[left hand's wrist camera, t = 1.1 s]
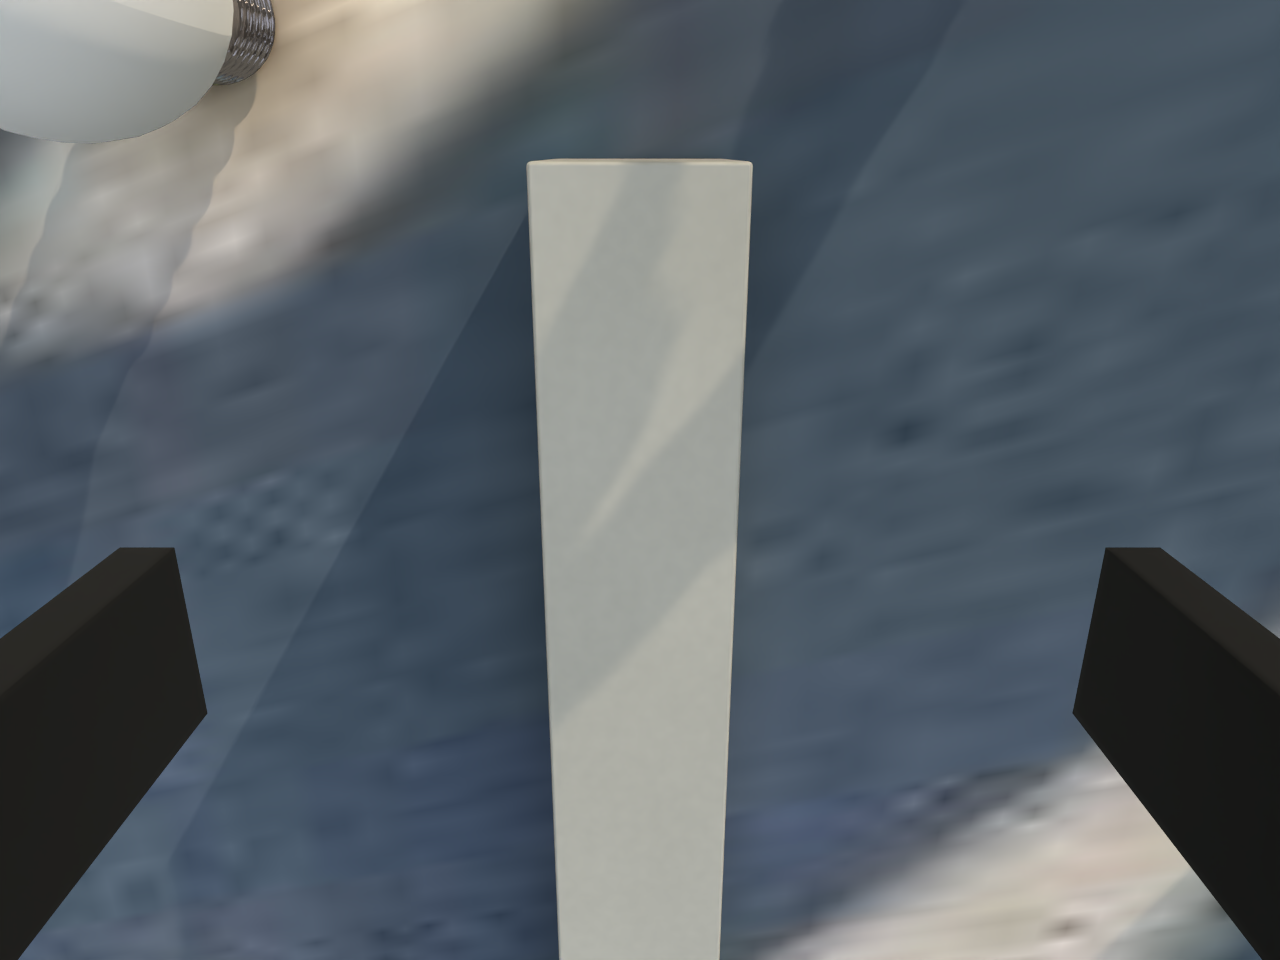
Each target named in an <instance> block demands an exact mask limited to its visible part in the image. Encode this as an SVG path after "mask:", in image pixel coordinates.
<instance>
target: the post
mask: <svg viewBox="0 0 1280 960" xmlns="http://www.w3.org/2000/svg"><path fill="white" fill-rule="evenodd" d="M752 173H753V165H752V163H751V162H748V161H738V160H728V159H551V160H540V161H530V162H528V163H527V190H528V214H529V238H530V263H531V287H532V311H533V335H534V360H535V384H536V408H537V432H538V457H539V481H540V505H541V529H542V554H543V578H544V602H545V626H546V651H547V675H548V699H549V723H550V748H551V772H552V796H553V820H554V845H555V869H556V893H557V917H558V942H559V960H719V954H720V930H721V907H722V883H723V859H724V836H725V812H726V788H727V765H728V741H729V717H730V694H731V670H732V646H733V623H734V599H735V575H736V551H737V528H738V504H739V480H740V457H741V433H742V409H743V386H744V362H745V338H746V315H747V291H748V267H749V244H750V220H751V196H752Z"/></svg>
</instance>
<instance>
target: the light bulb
mask: <svg viewBox="0 0 1280 960" xmlns="http://www.w3.org/2000/svg"><path fill="white" fill-rule="evenodd" d="M274 35H275V18H274V13H273V8H272V4H271V1H270V0H0V129H3V130H5V131H9V132H13V133H17V134H21V135H25V136H29V137H33V138H37V139H43V140H50V141H57V142H68V143H89V144H93V143H101V142H108V141H115V140H121V139H127V138H133V137H139V136H141V135H144V134H146V133H148V132H151V131H153V130H156V129H158V128H160V127H163V126H165V125H167V124H168V123H170V122H172V121H174V120H176V119H177V118H178V117H180V116H181V115H182V114H184V113H185V112H187V111H188V110H189V109H191V108H192V107H193V106H195V105H196V104H197V103H198V102H199V100H200V99H201V98H202V97H203V96H204V94H205V93H206V92H207V91H208V90H209V89H210V87H211V86H212V85H227V84H232V83H235V82H239V81H242V80H244V79H246V78H248V77H249V76H251V75H252V74H254V73H255V72H256V71H257V70H258V69H259V68H260V67H261V66H262V65H263V63H264V62H265V61H266V59H267V58H268V56H269V53H270V51H271V48H272V46H273V42H274Z"/></svg>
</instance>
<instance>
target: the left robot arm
mask: <svg viewBox="0 0 1280 960" xmlns="http://www.w3.org/2000/svg"><path fill="white" fill-rule="evenodd" d="M206 714H207V709H206V704H205V699H204V694H203V689H202V684H201V679H200V674H199V669H198V664H197V659H196V654H195V649H194V644H193V639H192V634H191V629H190V624H189V619H188V614H187V609H186V604H185V599H184V594H183V589H182V584H181V579H180V574H179V569H178V564H177V559H176V554H175V549H174V548H119V549H117V550H116V551H115V552H114V553H112V554H111V555H110V556H108V557H107V558H106V559H104V560H103V561H102V562H100V563H99V564H98V565H96V566H95V567H94V568H93V569H91V570H90V571H89V572H87V573H86V574H85V575H83V576H82V577H81V578H79V579H78V580H77V581H75V582H74V583H73V584H72V585H70V586H69V587H68V588H66V589H65V590H64V591H62V592H61V593H60V594H58V595H57V596H56V597H54V598H53V599H52V600H51V601H49V602H48V603H47V604H45V605H44V606H43V607H41V608H40V609H39V610H37V611H36V612H35V613H33V614H32V615H31V616H30V617H28V618H27V619H26V620H24V621H23V622H22V623H20V624H19V625H18V626H16V627H15V628H14V629H13V630H11V631H10V632H9V633H7V634H6V635H5V636H3V637H2V638H1V639H0V960H18V959H19V957H20V956H21V955H22V953H23V952H24V951H25V950H26V948H27V947H28V946H29V944H30V943H31V942H32V940H33V939H34V938H35V937H36V935H37V934H38V933H39V931H40V930H41V929H42V927H43V926H44V925H45V924H46V922H47V921H48V920H49V918H50V917H51V916H52V914H53V913H54V912H55V911H56V909H57V908H58V907H59V905H60V904H61V903H62V901H63V900H64V899H65V898H66V896H67V895H68V894H69V892H70V891H71V890H72V889H73V887H74V886H75V885H76V883H77V882H78V881H79V879H80V878H81V877H82V876H83V874H84V873H85V872H86V870H87V869H88V868H89V866H90V865H91V864H92V863H93V861H94V860H95V859H96V857H97V856H98V855H99V853H100V852H101V851H102V850H103V848H104V847H105V846H106V844H107V843H108V842H109V840H110V839H111V838H112V837H113V835H114V834H115V833H116V831H117V830H118V829H119V827H120V826H121V825H122V824H123V822H124V821H125V820H126V818H127V817H128V816H129V814H130V813H131V812H132V811H133V809H134V808H135V807H136V805H137V804H138V803H139V801H140V800H141V799H142V798H143V796H144V795H145V794H146V792H147V791H148V790H149V788H150V787H151V786H152V785H153V783H154V782H155V781H156V779H157V778H158V777H159V775H160V774H161V773H162V772H163V770H164V769H165V768H166V766H167V765H168V764H169V762H170V761H171V760H172V759H173V757H174V756H175V755H176V753H177V752H178V751H179V749H180V748H181V747H182V746H183V744H184V743H185V742H186V740H187V739H188V738H189V736H190V735H191V734H192V733H193V731H194V730H195V729H196V727H197V726H198V725H199V723H200V722H201V721H202V720H203V718H204V717H205V716H206ZM1073 714H1074V716H1075V717H1076V718H1077V720H1078V721H1079V722H1080V723H1081V725H1082V726H1083V727H1084V729H1085V730H1086V731H1087V733H1088V734H1089V735H1090V736H1091V738H1092V739H1093V740H1094V742H1095V743H1096V744H1097V746H1098V747H1099V748H1100V749H1101V751H1102V752H1103V753H1104V755H1105V756H1106V757H1107V759H1108V760H1109V761H1110V762H1111V764H1112V765H1113V766H1114V768H1115V769H1116V770H1117V772H1118V773H1119V774H1120V775H1121V777H1122V778H1123V779H1124V781H1125V782H1126V783H1127V785H1128V786H1129V787H1130V788H1131V790H1132V791H1133V792H1134V794H1135V795H1136V796H1137V798H1138V799H1139V800H1140V801H1141V803H1142V804H1143V805H1144V807H1145V808H1146V809H1147V811H1148V812H1149V813H1150V814H1151V816H1152V817H1153V818H1154V820H1155V821H1156V822H1157V824H1158V825H1159V826H1160V827H1161V829H1162V830H1163V831H1164V833H1165V834H1166V835H1167V837H1168V838H1169V839H1170V840H1171V842H1172V843H1173V844H1174V846H1175V847H1176V848H1177V850H1178V851H1179V852H1180V853H1181V855H1182V856H1183V857H1184V859H1185V860H1186V861H1187V863H1188V864H1189V865H1190V866H1191V868H1192V869H1193V870H1194V872H1195V873H1196V874H1197V876H1198V877H1199V878H1200V879H1201V881H1202V882H1203V883H1204V885H1205V886H1206V887H1207V889H1208V890H1209V891H1210V892H1211V894H1212V895H1213V896H1214V898H1215V899H1216V900H1217V901H1218V903H1219V904H1220V905H1221V907H1222V908H1223V909H1224V911H1225V912H1226V913H1227V914H1228V916H1229V917H1230V918H1231V920H1232V921H1233V922H1234V924H1235V925H1236V926H1237V927H1238V929H1239V930H1240V931H1241V933H1242V934H1243V935H1244V937H1245V938H1246V939H1247V940H1248V942H1249V943H1250V944H1251V946H1252V947H1253V948H1254V950H1255V951H1256V952H1257V953H1258V955H1259V956H1260V957H1261V959H1262V960H1280V639H1279V638H1278V637H1277V636H1275V635H1274V634H1273V633H1271V632H1270V631H1269V630H1267V629H1266V628H1265V627H1264V626H1262V625H1261V624H1260V623H1258V622H1257V621H1256V620H1254V619H1253V618H1252V617H1250V616H1249V615H1248V614H1247V613H1245V612H1244V611H1243V610H1241V609H1240V608H1239V607H1237V606H1236V605H1235V604H1233V603H1232V602H1231V601H1229V600H1228V599H1227V598H1226V597H1224V596H1223V595H1222V594H1220V593H1219V592H1218V591H1216V590H1215V589H1214V588H1212V587H1211V586H1210V585H1208V584H1207V583H1206V582H1205V581H1203V580H1202V579H1201V578H1199V577H1198V576H1197V575H1195V574H1194V573H1193V572H1191V571H1190V570H1189V569H1187V568H1186V567H1185V566H1184V565H1182V564H1181V563H1180V562H1178V561H1177V560H1176V559H1174V558H1173V557H1172V556H1170V555H1169V554H1168V553H1166V552H1165V551H1164V550H1163V549H1161V548H1106V549H1105V554H1104V559H1103V564H1102V569H1101V574H1100V579H1099V584H1098V589H1097V594H1096V599H1095V604H1094V609H1093V614H1092V619H1091V624H1090V629H1089V634H1088V639H1087V644H1086V649H1085V654H1084V659H1083V664H1082V669H1081V674H1080V679H1079V684H1078V689H1077V694H1076V699H1075V704H1074V709H1073Z"/></svg>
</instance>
